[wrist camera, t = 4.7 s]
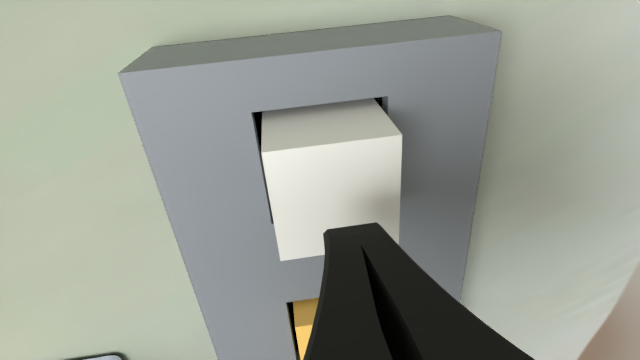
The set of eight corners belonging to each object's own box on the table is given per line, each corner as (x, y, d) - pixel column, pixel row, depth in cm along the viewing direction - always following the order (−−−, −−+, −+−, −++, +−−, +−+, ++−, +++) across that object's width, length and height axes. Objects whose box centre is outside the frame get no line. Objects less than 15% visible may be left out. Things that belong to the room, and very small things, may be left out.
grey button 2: (277, 202, 16) (280, 261, 12) (262, 109, 13) (261, 152, 10) (373, 189, 16) (398, 243, 13) (372, 96, 14) (402, 134, 11)
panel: (259, 411, 28) (258, 475, 25) (152, 47, 15) (117, 73, 11) (417, 384, 29) (438, 442, 25) (449, 15, 16) (501, 30, 12)
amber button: (298, 322, 21) (304, 382, 18) (290, 269, 19) (295, 327, 16) (368, 311, 22) (385, 368, 18) (367, 258, 19) (386, 312, 16)
